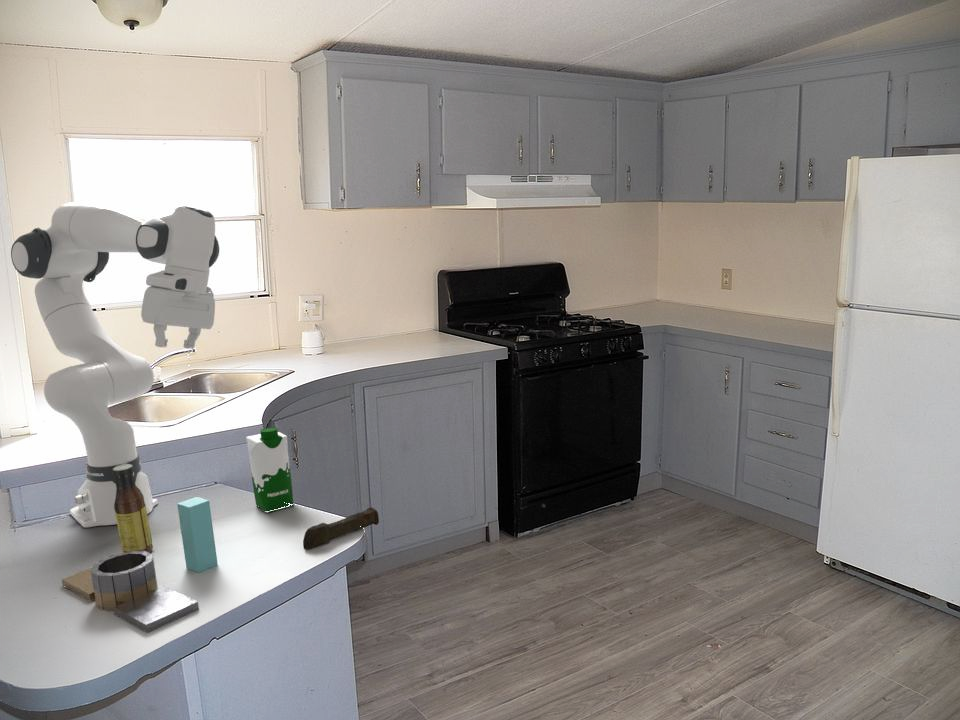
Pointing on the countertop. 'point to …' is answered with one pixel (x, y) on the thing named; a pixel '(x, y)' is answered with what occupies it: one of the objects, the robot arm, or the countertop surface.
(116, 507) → the sauce bottle
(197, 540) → the teal square block
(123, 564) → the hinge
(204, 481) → the countertop surface
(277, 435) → the milk carton
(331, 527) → the hand tool
